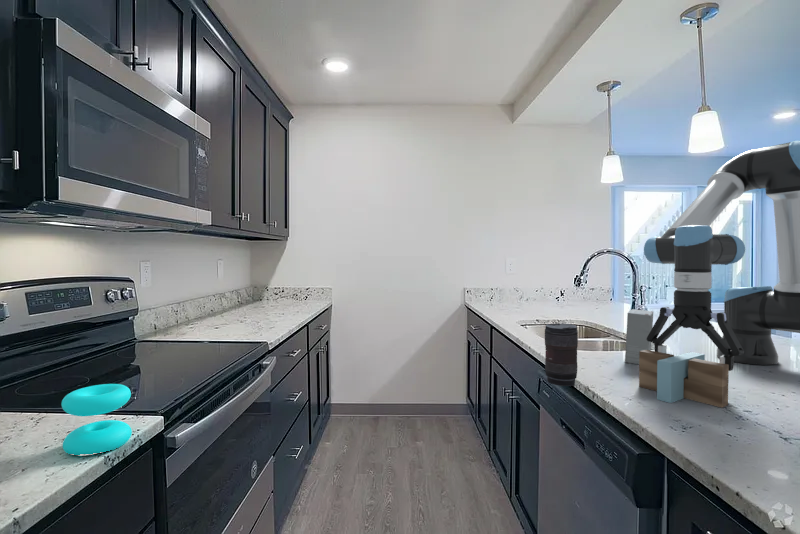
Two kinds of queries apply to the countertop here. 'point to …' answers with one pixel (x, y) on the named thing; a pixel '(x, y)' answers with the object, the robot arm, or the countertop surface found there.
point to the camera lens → (561, 353)
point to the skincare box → (637, 334)
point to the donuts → (101, 432)
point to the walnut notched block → (689, 378)
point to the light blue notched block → (673, 376)
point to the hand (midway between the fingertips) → (691, 377)
